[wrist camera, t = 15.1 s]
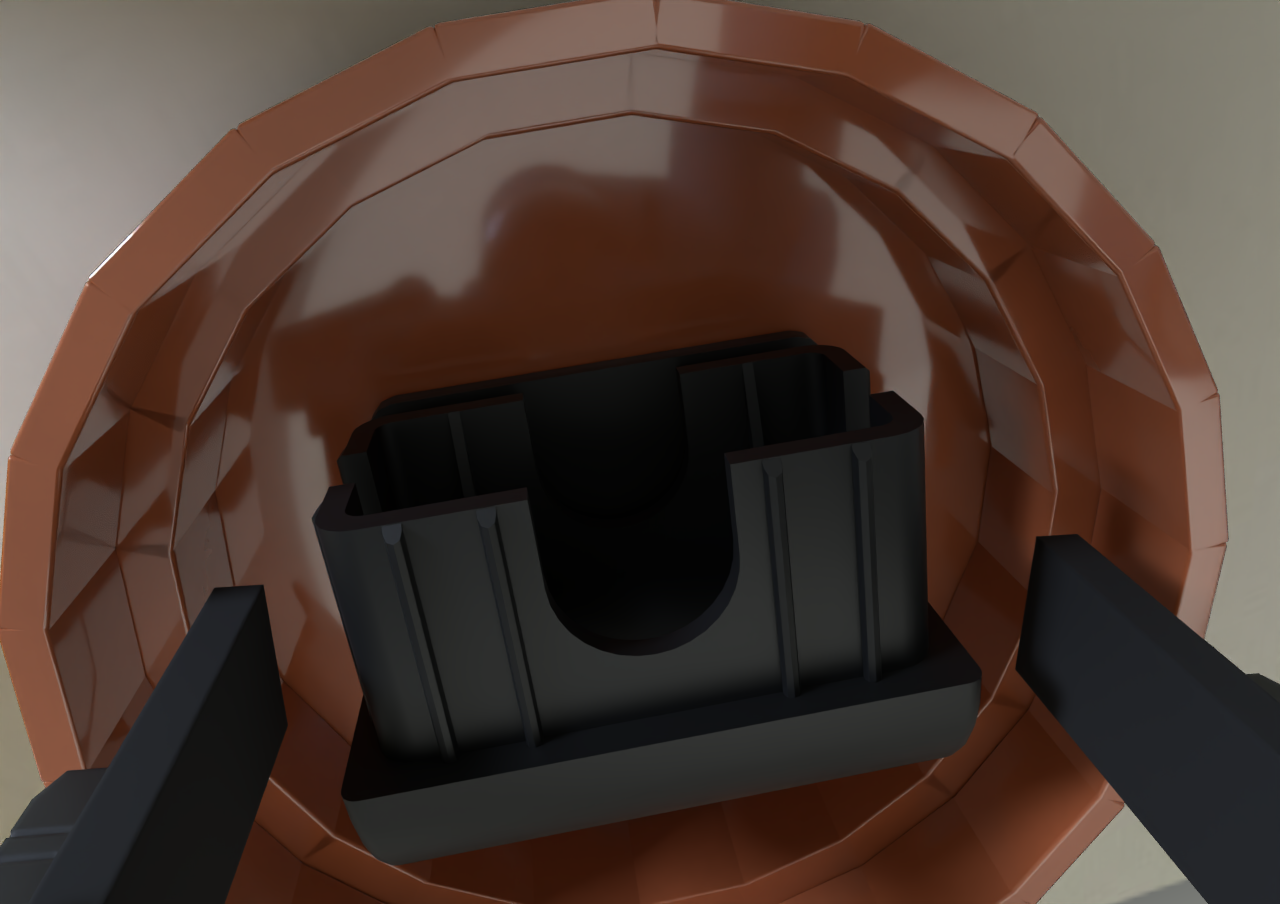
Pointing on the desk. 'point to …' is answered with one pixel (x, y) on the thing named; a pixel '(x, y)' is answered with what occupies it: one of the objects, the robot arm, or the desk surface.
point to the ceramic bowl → (599, 331)
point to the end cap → (634, 594)
